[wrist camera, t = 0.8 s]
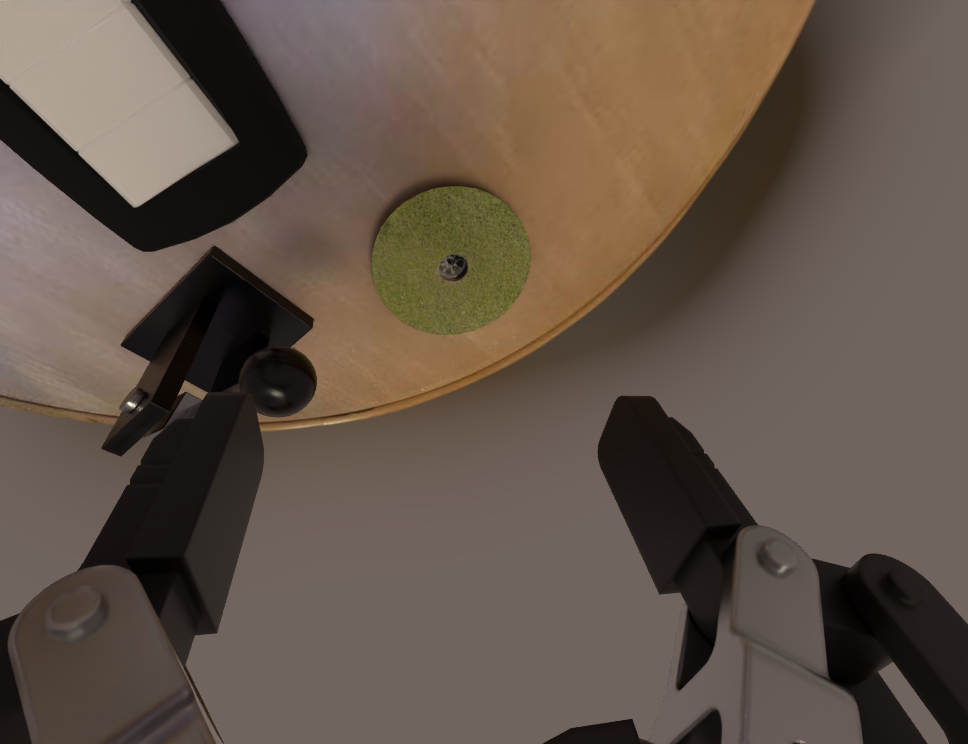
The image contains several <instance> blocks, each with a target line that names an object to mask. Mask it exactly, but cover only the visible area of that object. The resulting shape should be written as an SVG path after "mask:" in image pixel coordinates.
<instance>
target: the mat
mask: <svg viewBox="0 0 968 744" xmlns="http://www.w3.org/2000/svg"><path fill="white" fill-rule="evenodd" d="M530 261H531V256H530V244H529V239H528V236H527V234H526V230H525V229H524V226H523V225H522V222H521V221H520V219H519V218H518V216H517V215H516V214H515V213H514V212H513V211H512V210H511V208H510V207H509V206H508V205H506V204H505V203H504V202H502V201H501V200H500V199H499V198H497V197H495V196H494V195H492V194H490V193H487V192H484V191H482V190H480V189H476V188H469V187H463V186H446V187H442V188H441V187H439V188H436V189H434V188H432V189H431V190H430V191H429V190H428V191H425V192H423V193H419V194H418V195H416V196H414V197H413V198H412V199H409V200H407V201H406V202H404V203H403V204H401V206H400V207H398V208H397V209H396V210H394V212H393V213H392V214H391V216H389V217H388V219H387V220H386V221H385V223H384V224H383V226H382V227H381V231H379V233H378V235H377V238H376V242H375V244H374V248H373V254H372V265H371V266H372V275H373V281H374V285H375V287H376V290H377V292H378V294H379V297H380V298H381V300H382V302H383V303H384V304H385V306H386V307H387V308H388V310H389V311H390V312H391V313H392V314H393V315H394V316H396V317H397V318H398V319H399V320H401V321H402V322H403V323H405V324H407V325H409V326H411V327H413V328H415V329H417V330H421V331H423V332H427V333H428V332H429V333H432V334H440V335H441V334H443V335H451V334H457V333H458V334H460V333H464V332H468V331H473V330H476V329H478V328H481V326H482V327H483V326H485V325H487V324H489V323H491V322H492V321H494V320H495V319H498V318H499V317H500V316H501V315H502V314H503V313H505V311H506V310H508V309H509V308H510V306H511V305H512V303H514V302H515V300H516V299H517V297H518V296H519V294H520V293H521V291H522V289H523V286H524V284H525V283H526V279H527V276H528V273H529V268H530Z"/></svg>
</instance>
